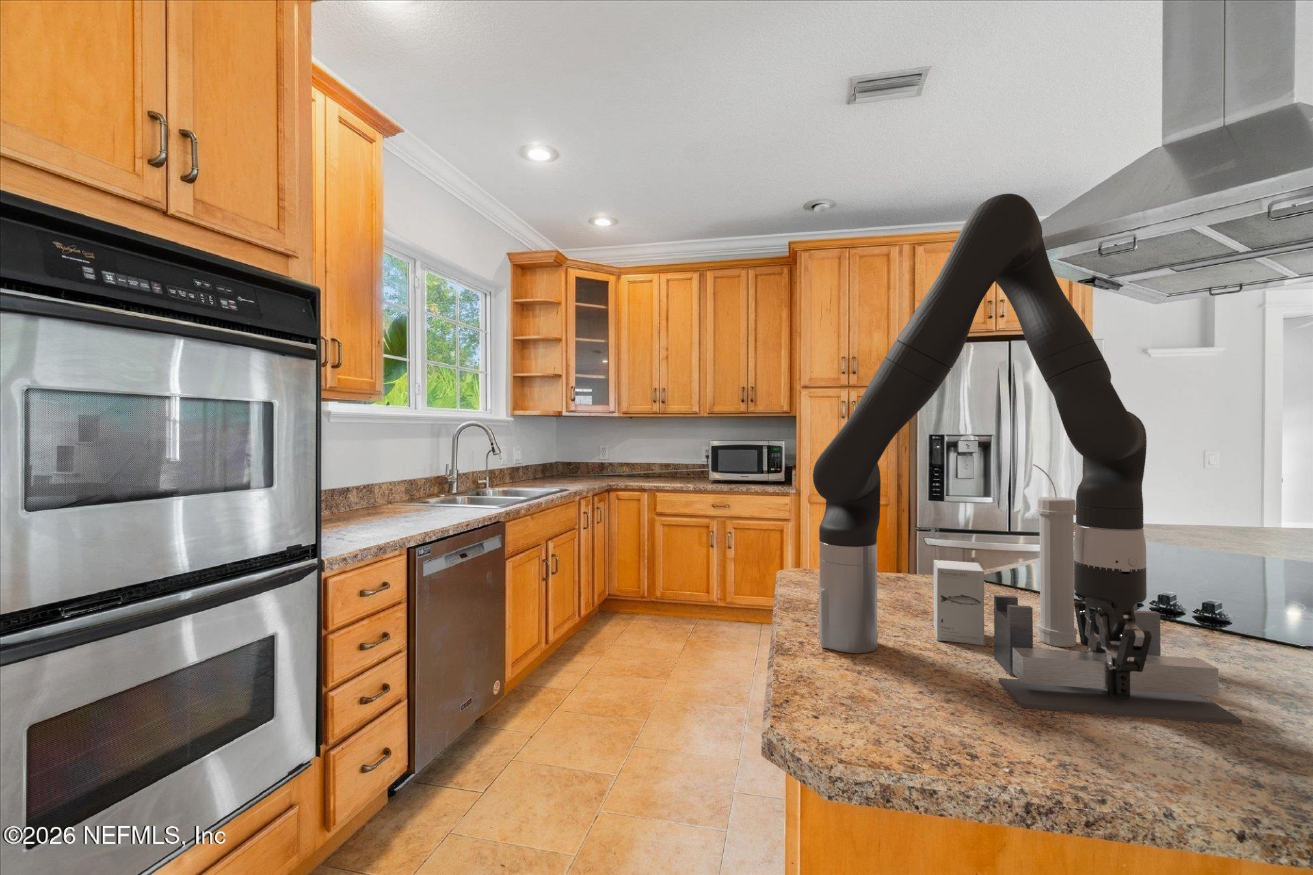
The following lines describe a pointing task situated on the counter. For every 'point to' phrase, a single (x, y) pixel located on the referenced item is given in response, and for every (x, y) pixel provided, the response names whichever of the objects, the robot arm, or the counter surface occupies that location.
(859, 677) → the counter surface
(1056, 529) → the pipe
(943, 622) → the supplement box
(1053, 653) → the rail
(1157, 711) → the mat
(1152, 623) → the post
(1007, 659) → the post
